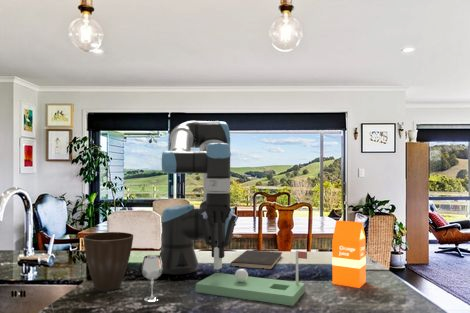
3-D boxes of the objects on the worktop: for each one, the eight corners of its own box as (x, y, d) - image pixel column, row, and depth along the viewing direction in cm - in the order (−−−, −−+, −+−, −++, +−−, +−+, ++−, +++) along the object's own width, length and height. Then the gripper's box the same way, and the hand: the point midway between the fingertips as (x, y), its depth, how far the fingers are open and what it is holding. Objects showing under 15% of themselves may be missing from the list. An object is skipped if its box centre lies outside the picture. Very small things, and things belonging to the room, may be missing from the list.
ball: (232, 283, 123) (232, 269, 123) (237, 279, 127) (238, 266, 127) (245, 284, 121) (245, 271, 122) (249, 281, 125) (250, 268, 125)
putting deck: (195, 291, 122) (195, 250, 123) (215, 280, 135) (216, 242, 135) (296, 306, 110) (296, 259, 110) (308, 291, 123) (308, 250, 123)
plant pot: (140, 282, 132) (141, 232, 133) (118, 296, 118) (119, 240, 118) (99, 279, 135) (99, 231, 136) (72, 293, 121) (73, 238, 121)
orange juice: (359, 288, 127) (359, 223, 128) (332, 283, 132) (331, 221, 132) (366, 282, 134) (365, 221, 134) (339, 278, 138) (339, 219, 139)
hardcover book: (282, 257, 172) (282, 252, 172) (271, 270, 150) (271, 264, 150) (245, 255, 177) (245, 250, 177) (230, 267, 155) (230, 261, 155)
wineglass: (143, 296, 118) (143, 254, 118) (163, 295, 118) (163, 254, 119) (140, 302, 112) (140, 259, 113) (161, 302, 113) (161, 258, 113)
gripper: (194, 192, 127) (193, 268, 126) (232, 193, 122) (232, 273, 121) (205, 191, 134) (204, 263, 133) (242, 192, 129) (241, 267, 128)
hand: (217, 268), depth 127 cm, fingers closed
